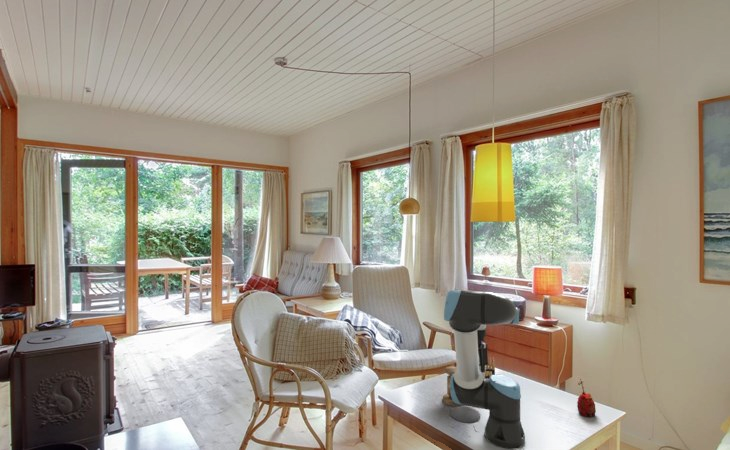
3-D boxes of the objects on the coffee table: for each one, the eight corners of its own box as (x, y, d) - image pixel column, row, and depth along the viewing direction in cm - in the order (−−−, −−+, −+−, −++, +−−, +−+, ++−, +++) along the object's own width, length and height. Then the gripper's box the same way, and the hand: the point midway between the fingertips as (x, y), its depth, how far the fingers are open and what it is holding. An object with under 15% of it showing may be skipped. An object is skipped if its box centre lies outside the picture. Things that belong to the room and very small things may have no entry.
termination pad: (485, 421, 163) (485, 420, 163) (457, 424, 161) (457, 422, 161) (472, 406, 176) (472, 405, 176) (445, 409, 174) (445, 407, 174)
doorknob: (467, 405, 177) (468, 373, 177) (447, 407, 176) (447, 374, 176) (459, 395, 187) (459, 365, 187) (439, 397, 186) (439, 366, 185)
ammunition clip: (494, 377, 209) (494, 356, 209) (495, 379, 207) (495, 357, 207) (474, 376, 211) (474, 354, 211) (474, 377, 209) (475, 355, 209)
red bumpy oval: (588, 419, 165) (588, 385, 165) (573, 412, 171) (573, 379, 171) (599, 415, 169) (599, 382, 168) (583, 408, 175) (584, 376, 175)
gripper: (496, 333, 174) (496, 383, 174) (475, 322, 194) (474, 366, 194) (481, 334, 173) (481, 384, 173) (461, 322, 193) (461, 367, 193)
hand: (477, 374), depth 184 cm, fingers closed on white cup, 7 cm apart
